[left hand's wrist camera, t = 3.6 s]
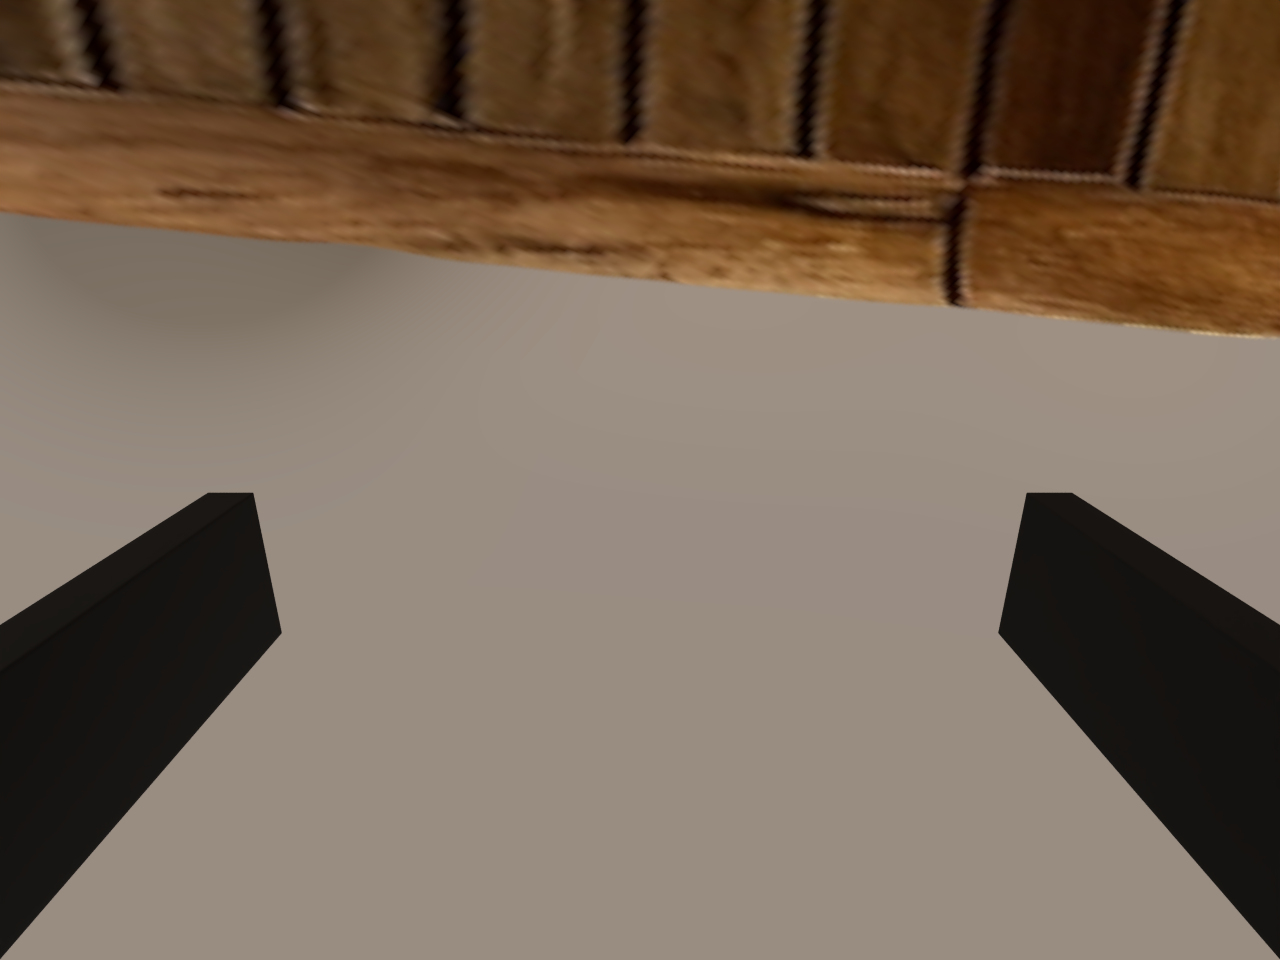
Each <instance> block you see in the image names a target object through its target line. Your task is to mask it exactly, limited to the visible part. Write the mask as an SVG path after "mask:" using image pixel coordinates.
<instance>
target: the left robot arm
mask: <svg viewBox="0 0 1280 960" xmlns="http://www.w3.org/2000/svg"><path fill="white" fill-rule="evenodd" d="M281 633H282V632H281V627H280V622H279V617H278V612H277V607H276V602H275V597H274V593H273V588H272V583H271V578H270V573H269V568H268V563H267V558H266V553H265V548H264V543H263V538H262V533H261V529H260V524H259V519H258V514H257V509H256V504H255V499H254V494H253V493H207V494H205V495H204V496H202V497H201V498H199V499H198V500H196V501H194V502H193V503H191V504H190V505H188V506H187V507H185V508H183V509H182V510H180V511H179V512H177V513H176V514H174V515H172V516H171V517H169V518H168V519H166V520H165V521H163V522H161V523H160V524H158V525H157V526H155V527H153V528H152V529H150V530H149V531H147V532H146V533H144V534H142V535H141V536H139V537H138V538H136V539H135V540H133V541H131V542H130V543H128V544H127V545H125V546H124V547H122V548H120V549H119V550H117V551H116V552H114V553H113V554H111V555H109V556H108V557H106V558H105V559H103V560H102V561H100V562H98V563H97V564H95V565H94V566H92V567H91V568H89V569H87V570H86V571H84V572H83V573H81V574H80V575H78V576H76V577H75V578H73V579H72V580H70V581H69V582H67V583H65V584H64V585H62V586H61V587H59V588H58V589H56V590H54V591H53V592H51V593H50V594H48V595H47V596H45V597H43V598H42V599H40V600H39V601H37V602H36V603H34V604H32V605H31V606H29V607H28V608H26V609H25V610H23V611H21V612H20V613H18V614H17V615H15V616H14V617H12V618H10V619H9V620H7V621H6V622H4V623H2V624H1V625H0V959H1V957H2V956H3V955H4V954H5V953H6V952H7V951H8V949H9V948H10V947H11V946H12V945H13V944H14V942H15V941H16V940H17V939H18V938H19V937H20V935H21V934H22V933H23V932H24V931H25V930H26V929H27V927H28V926H29V925H30V924H31V923H32V922H33V920H34V919H35V918H36V917H37V916H38V915H39V913H40V912H41V911H42V910H43V909H44V908H45V906H46V905H47V904H48V903H49V902H50V901H51V900H52V898H53V897H54V896H55V895H56V894H57V893H58V891H59V890H60V889H61V888H62V887H63V886H64V885H65V883H66V882H67V881H68V880H69V879H70V878H71V876H72V875H73V874H74V873H75V872H76V871H77V869H78V868H79V867H80V866H81V865H82V864H83V863H84V861H85V860H86V859H87V858H88V857H89V856H90V854H91V853H92V852H93V851H94V850H95V849H96V847H97V846H98V845H99V844H100V843H101V842H102V841H103V839H104V838H105V837H106V836H107V835H108V834H109V832H110V831H111V830H112V829H113V828H114V827H115V825H116V824H117V823H118V822H119V821H120V820H121V819H122V817H123V816H124V815H125V814H126V813H127V812H128V810H129V809H130V808H131V807H132V806H133V805H134V803H135V802H136V801H137V800H138V799H139V798H140V796H141V795H142V794H143V793H144V792H145V791H146V790H147V788H148V787H149V786H150V785H151V784H152V783H153V781H154V780H155V779H156V778H157V777H158V776H159V775H160V773H161V772H162V771H163V770H164V769H165V768H166V766H167V765H168V764H169V763H170V762H171V761H172V759H173V758H174V757H175V756H176V755H177V754H178V753H179V751H180V750H181V749H182V748H183V747H184V746H185V744H186V743H187V742H188V741H189V740H190V739H191V737H192V736H193V735H194V734H195V733H196V732H197V730H198V729H199V728H200V727H201V726H202V725H203V724H204V722H205V721H206V720H207V719H208V718H209V717H210V715H211V714H212V713H213V712H214V711H215V710H216V709H217V707H218V706H219V705H220V704H221V703H222V702H223V700H224V699H225V698H226V697H227V696H228V695H229V693H230V692H231V691H232V690H233V689H234V688H235V687H236V685H237V684H238V683H239V682H240V681H241V680H242V678H243V677H244V676H245V675H246V674H247V673H248V671H249V670H250V669H251V668H252V667H253V666H254V665H255V663H256V662H257V661H258V660H259V659H260V658H261V656H262V655H263V654H264V653H265V652H266V651H267V649H268V648H269V647H270V646H271V645H272V644H273V643H274V641H275V640H276V639H277V638H278V637H279V636H280V634H281ZM998 633H999V634H1000V636H1001V637H1002V638H1003V639H1004V640H1005V641H1006V643H1007V644H1008V645H1009V646H1010V647H1011V648H1012V649H1013V651H1014V652H1015V653H1016V654H1017V655H1018V656H1019V658H1020V659H1021V660H1022V661H1023V662H1024V663H1025V665H1026V666H1027V667H1028V668H1029V669H1030V670H1031V671H1032V673H1033V674H1034V675H1035V676H1036V677H1037V678H1038V680H1039V681H1040V682H1041V683H1042V684H1043V685H1044V687H1045V688H1046V689H1047V690H1048V691H1049V692H1050V693H1051V695H1052V696H1053V697H1054V698H1055V699H1056V700H1057V702H1058V703H1059V704H1060V705H1061V706H1062V707H1063V708H1064V710H1065V711H1066V712H1067V713H1068V714H1069V715H1070V717H1071V718H1072V719H1073V720H1074V721H1075V722H1076V724H1077V725H1078V726H1079V727H1080V728H1081V729H1082V731H1083V732H1084V733H1085V734H1086V735H1087V736H1088V737H1089V739H1090V740H1091V741H1092V742H1093V743H1094V744H1095V746H1096V747H1097V748H1098V749H1099V750H1100V751H1101V753H1102V754H1103V755H1104V756H1105V757H1106V758H1107V759H1108V761H1109V762H1110V763H1111V764H1112V765H1113V766H1114V768H1115V769H1116V770H1117V771H1118V772H1119V773H1120V774H1121V776H1122V777H1123V778H1124V779H1125V780H1126V781H1127V783H1128V784H1129V785H1130V786H1131V787H1132V788H1133V790H1134V791H1135V792H1136V793H1137V794H1138V795H1139V797H1140V798H1141V799H1142V800H1143V801H1144V802H1145V803H1146V805H1147V806H1148V807H1149V808H1150V809H1151V810H1152V812H1153V813H1154V814H1155V815H1156V816H1157V817H1158V819H1159V820H1160V821H1161V822H1162V823H1163V824H1164V825H1165V827H1166V828H1167V829H1168V830H1169V831H1170V832H1171V834H1172V835H1173V836H1174V837H1175V838H1176V839H1177V841H1178V842H1179V843H1180V844H1181V845H1182V846H1183V847H1184V849H1185V850H1186V851H1187V852H1188V853H1189V854H1190V856H1191V857H1192V858H1193V859H1194V860H1195V861H1196V863H1197V864H1198V865H1199V866H1200V867H1201V868H1202V869H1203V871H1204V872H1205V873H1206V874H1207V875H1208V876H1209V878H1210V879H1211V880H1212V881H1213V882H1214V883H1215V885H1216V886H1217V887H1218V888H1219V889H1220V890H1221V891H1222V893H1223V894H1224V895H1225V896H1226V897H1227V898H1228V900H1229V901H1230V902H1231V903H1232V904H1233V905H1234V906H1235V908H1236V909H1237V910H1238V911H1239V912H1240V913H1241V915H1242V916H1243V917H1244V918H1245V919H1246V920H1247V922H1248V923H1249V924H1250V925H1251V926H1252V927H1253V929H1254V930H1255V931H1256V932H1257V933H1258V934H1259V935H1260V937H1261V938H1262V939H1263V940H1264V941H1265V942H1266V944H1267V945H1268V946H1269V947H1270V948H1271V949H1272V950H1273V952H1274V953H1275V954H1276V955H1277V956H1278V957H1279V959H1280V625H1279V624H1277V623H1276V622H1274V621H1273V620H1271V619H1270V618H1268V617H1266V616H1265V615H1263V614H1262V613H1260V612H1259V611H1257V610H1255V609H1254V608H1252V607H1251V606H1249V605H1248V604H1246V603H1244V602H1243V601H1241V600H1240V599H1238V598H1237V597H1235V596H1233V595H1232V594H1230V593H1229V592H1227V591H1226V590H1224V589H1222V588H1221V587H1219V586H1218V585H1216V584H1215V583H1213V582H1211V581H1210V580H1208V579H1207V578H1205V577H1204V576H1202V575H1200V574H1199V573H1197V572H1196V571H1194V570H1193V569H1191V568H1189V567H1188V566H1186V565H1185V564H1183V563H1181V562H1180V561H1178V560H1177V559H1175V558H1174V557H1172V556H1170V555H1169V554H1167V553H1166V552H1164V551H1163V550H1161V549H1160V548H1158V547H1156V546H1155V545H1153V544H1152V543H1150V542H1149V541H1147V540H1145V539H1144V538H1142V537H1141V536H1139V535H1138V534H1136V533H1134V532H1133V531H1131V530H1130V529H1128V528H1127V527H1125V526H1123V525H1122V524H1120V523H1119V522H1117V521H1116V520H1114V519H1112V518H1111V517H1109V516H1108V515H1106V514H1104V513H1103V512H1101V511H1100V510H1098V509H1097V508H1095V507H1093V506H1092V505H1090V504H1089V503H1087V502H1086V501H1084V500H1082V499H1081V498H1079V497H1078V496H1076V495H1075V494H1073V493H1027V494H1026V499H1025V504H1024V509H1023V514H1022V519H1021V524H1020V528H1019V533H1018V538H1017V543H1016V548H1015V553H1014V558H1013V563H1012V568H1011V573H1010V578H1009V583H1008V588H1007V592H1006V598H1005V602H1004V607H1003V612H1002V617H1001V622H1000V627H999V632H998Z"/></svg>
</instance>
